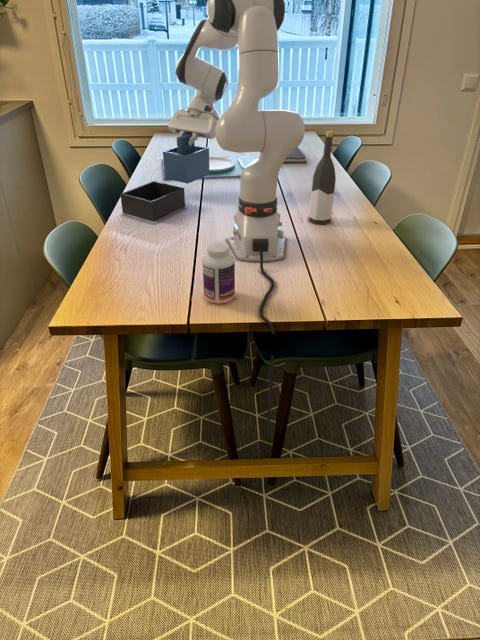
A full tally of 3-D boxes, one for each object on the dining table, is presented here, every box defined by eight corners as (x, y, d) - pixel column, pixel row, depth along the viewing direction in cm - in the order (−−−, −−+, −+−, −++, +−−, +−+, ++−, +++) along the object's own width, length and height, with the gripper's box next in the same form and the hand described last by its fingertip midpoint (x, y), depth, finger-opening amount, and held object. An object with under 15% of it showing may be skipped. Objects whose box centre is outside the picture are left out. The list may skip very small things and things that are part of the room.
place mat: (164, 180, 202) (164, 174, 201) (162, 160, 227) (162, 155, 226) (266, 176, 208) (267, 171, 207) (254, 157, 233) (254, 152, 232)
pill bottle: (235, 290, 126) (236, 240, 118) (233, 306, 119) (233, 254, 111) (205, 288, 126) (204, 239, 118) (201, 304, 120) (199, 253, 111)
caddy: (187, 169, 189) (185, 130, 180) (209, 174, 184) (208, 134, 176) (164, 178, 179) (161, 137, 171) (187, 183, 174) (185, 141, 166)
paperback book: (296, 150, 245) (297, 145, 244) (306, 162, 226) (306, 157, 225) (266, 150, 244) (266, 145, 243) (273, 163, 225) (273, 158, 224)
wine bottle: (334, 218, 168) (346, 130, 151) (325, 226, 162) (337, 135, 146) (313, 214, 172) (322, 127, 155) (304, 221, 166) (312, 132, 149)
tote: (155, 200, 181) (153, 180, 177) (185, 208, 175) (184, 187, 170) (123, 215, 169) (120, 193, 164) (154, 223, 162) (151, 202, 158)
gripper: (173, 103, 177) (158, 135, 176) (218, 109, 168) (203, 143, 167) (181, 113, 183) (167, 145, 182) (225, 120, 174) (210, 153, 173)
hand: (184, 144), depth 174 cm, fingers closed on caddy
